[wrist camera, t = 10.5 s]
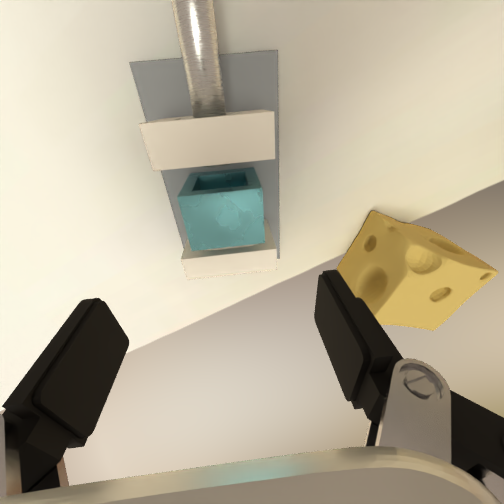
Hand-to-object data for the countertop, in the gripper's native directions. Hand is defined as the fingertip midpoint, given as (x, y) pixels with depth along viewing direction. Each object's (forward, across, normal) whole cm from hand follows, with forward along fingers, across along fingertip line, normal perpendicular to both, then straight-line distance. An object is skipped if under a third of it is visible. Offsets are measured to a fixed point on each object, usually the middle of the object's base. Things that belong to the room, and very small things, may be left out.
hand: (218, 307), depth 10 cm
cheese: (+18, -21, +12) cm, 30 cm away
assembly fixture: (+18, 0, 0) cm, 18 cm away
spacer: (+17, 0, +1) cm, 17 cm away
